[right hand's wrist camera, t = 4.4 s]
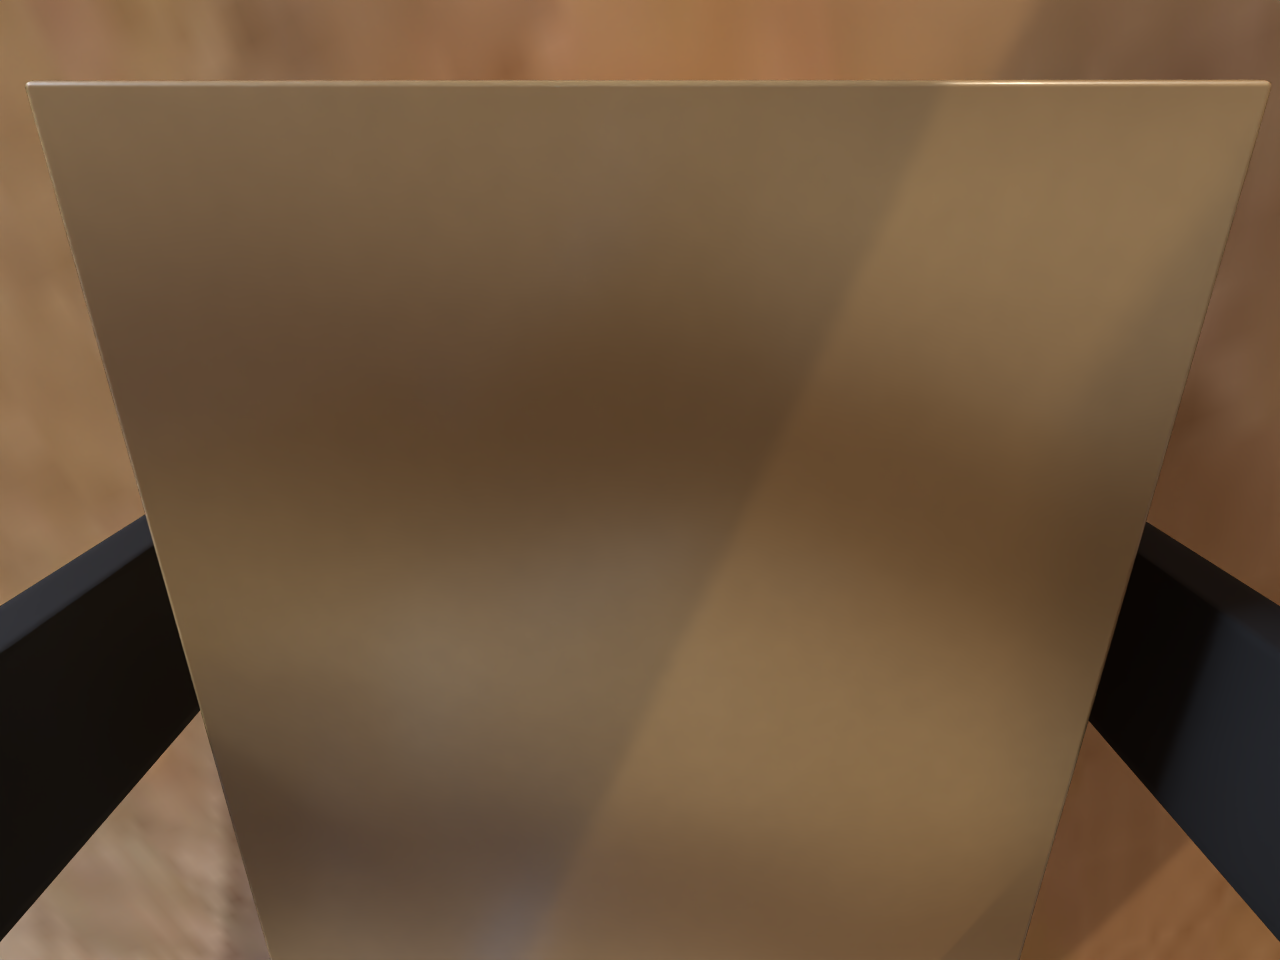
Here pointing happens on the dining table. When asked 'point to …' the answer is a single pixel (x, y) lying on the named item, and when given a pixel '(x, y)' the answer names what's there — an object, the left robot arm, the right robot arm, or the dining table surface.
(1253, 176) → the dining table surface
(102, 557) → the right robot arm
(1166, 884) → the dining table surface
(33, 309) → the dining table surface
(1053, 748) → the slab
